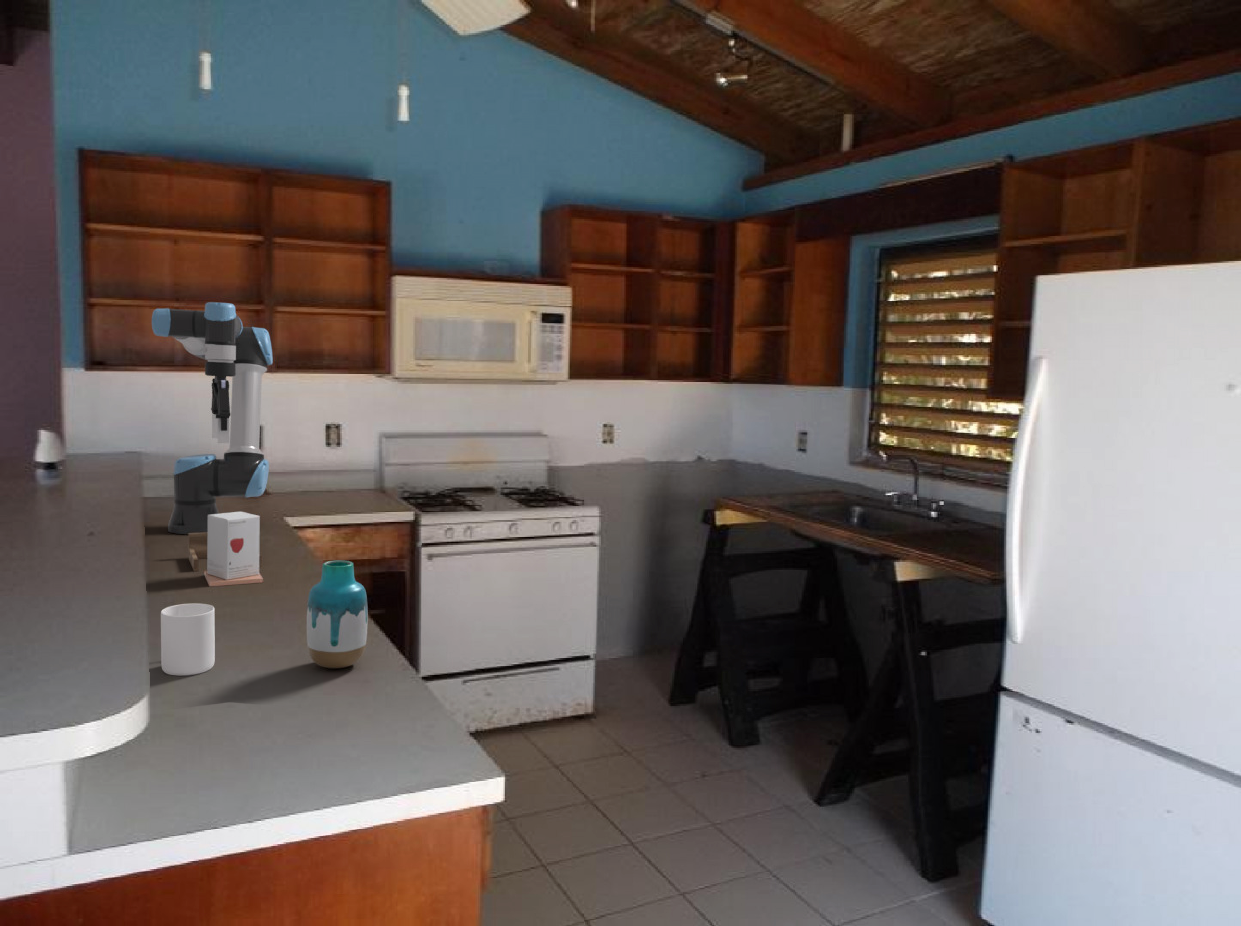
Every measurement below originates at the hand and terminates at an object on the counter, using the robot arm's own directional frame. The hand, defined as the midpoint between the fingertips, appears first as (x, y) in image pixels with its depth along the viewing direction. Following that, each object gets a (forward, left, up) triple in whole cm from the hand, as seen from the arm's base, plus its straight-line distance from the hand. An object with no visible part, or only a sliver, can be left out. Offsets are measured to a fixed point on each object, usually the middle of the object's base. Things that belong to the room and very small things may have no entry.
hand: (220, 440), depth 245 cm
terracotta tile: (+27, 0, -32) cm, 42 cm away
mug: (+90, -15, -32) cm, 97 cm away
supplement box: (+27, 0, -31) cm, 41 cm away
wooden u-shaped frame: (+8, 0, -32) cm, 33 cm away
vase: (+100, +9, -32) cm, 105 cm away
